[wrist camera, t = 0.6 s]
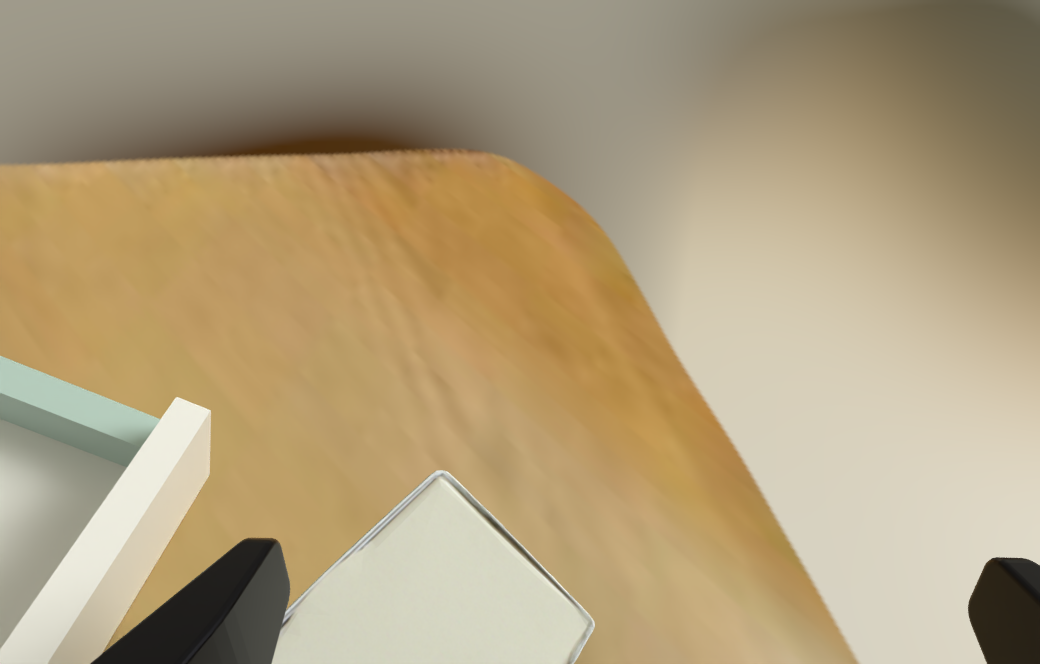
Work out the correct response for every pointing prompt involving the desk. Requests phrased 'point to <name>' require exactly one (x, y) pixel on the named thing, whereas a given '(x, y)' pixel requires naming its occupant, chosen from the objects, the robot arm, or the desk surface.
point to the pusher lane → (84, 509)
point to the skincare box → (435, 593)
